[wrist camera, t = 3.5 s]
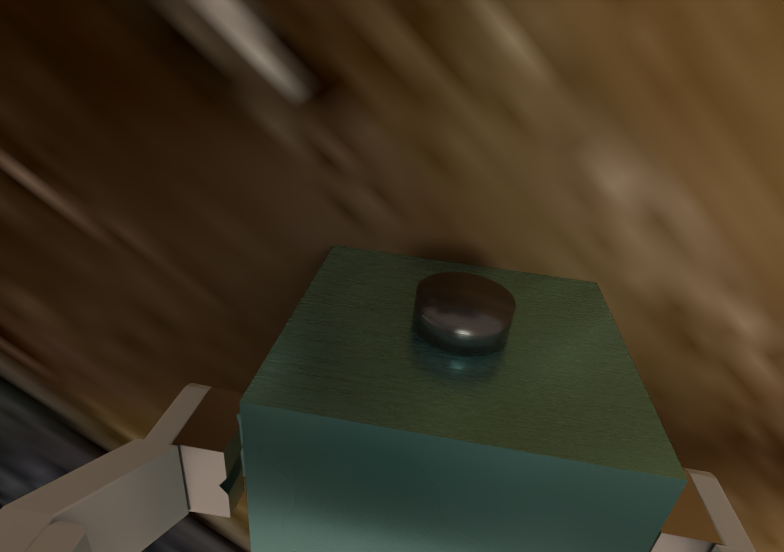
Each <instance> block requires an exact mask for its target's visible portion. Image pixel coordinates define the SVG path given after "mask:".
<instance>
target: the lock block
mask: <svg viewBox="0 0 784 552" xmlns="http://www.w3.org/2000/svg"><path fill="white" fill-rule="evenodd" d="M240 414H241V427H242V440H243V453H244V466H245V479H246V492H247V504H248V517H249V530H250V543H251V552H648V551H649V549H650V548H651V546H652V544H653V542H654V540H655V539H656V537H657V535H658V533H659V532H660V530H661V528H662V526H663V524H664V523H665V521H666V519H667V517H668V516H669V514H670V512H671V510H672V508H673V507H674V505H675V503H676V501H677V500H678V498H679V496H680V494H681V492H682V491H683V489H684V487H685V485H686V484H687V482H688V479H687V477H686V475H685V473H684V471H683V468H682V466H681V464H680V462H679V460H678V458H677V455H676V453H675V451H674V449H673V447H672V445H671V442H670V440H669V438H668V436H667V434H666V432H665V430H664V427H663V425H662V423H661V421H660V419H659V417H658V414H657V412H656V410H655V408H654V406H653V404H652V401H651V399H650V397H649V395H648V393H647V391H646V388H645V386H644V384H643V382H642V380H641V378H640V375H639V373H638V371H637V369H636V367H635V365H634V362H633V360H632V358H631V356H630V354H629V352H628V350H627V347H626V345H625V343H624V341H623V339H622V337H621V334H620V332H619V330H618V328H617V326H616V324H615V321H614V319H613V317H612V315H611V313H610V311H609V308H608V306H607V304H606V302H605V300H604V298H603V295H602V293H601V291H600V289H599V287H598V285H597V283H593V282H586V281H579V280H573V279H566V278H559V277H552V276H545V275H538V274H531V273H524V272H517V271H510V270H504V269H497V268H490V267H483V266H476V265H469V264H462V263H455V262H448V261H441V260H435V259H428V258H421V257H414V256H407V255H400V254H393V253H386V252H379V251H372V250H365V249H359V248H352V247H345V246H338V245H334V246H333V247H332V249H331V251H330V252H329V254H328V256H327V257H326V259H325V261H324V262H323V264H322V266H321V267H320V269H319V271H318V272H317V274H316V276H315V277H314V279H313V281H312V282H311V284H310V286H309V287H308V289H307V291H306V292H305V294H304V296H303V297H302V299H301V301H300V302H299V304H298V306H297V307H296V309H295V310H294V312H293V314H292V315H291V317H290V319H289V320H288V322H287V324H286V325H285V327H284V329H283V330H282V332H281V334H280V335H279V337H278V339H277V340H276V342H275V344H274V345H273V347H272V349H271V350H270V352H269V354H268V355H267V357H266V359H265V360H264V362H263V364H262V365H261V367H260V368H259V370H258V372H257V373H256V375H255V377H254V378H253V380H252V382H251V383H250V385H249V387H248V388H247V390H246V392H245V393H244V395H243V397H242V398H241V400H240Z"/></svg>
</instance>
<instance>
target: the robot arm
mask: <svg viewBox="0 0 784 552" xmlns="http://www.w3.org/2000/svg"><path fill="white" fill-rule="evenodd" d="M243 395H244V393H243V392H238V391H233V390H228V389H223V388H218V387H210V386H206V385H201V384H196V383H190V384H189V385H187V386H185V387H184V388H183V390H182V391H181V392H180V394H179V395H178V396H177V397H176V399H175V400H174V401H173V403H172V404H171V405H170V406H169V408H168V409H167V410H166V412H165V413H164V414H163V415H162V417H161V418H160V419H159V421H158V422H157V423H156V424H155V426H154V427H153V428H152V430H151V431H150V432H149V433H148V435H147V436H146V437H145V439H138V438H136V439H135V440H133V441H131V442H129V443H127V444H125V445H123V446H121V447H119V448H117V449H115V450H113V451H111V452H109V453H107V454H105V455H103V456H101V457H99V458H97V459H95V460H93V461H91V462H89V463H87V464H86V465H84V466H82V467H80V468H78V469H76V470H74V471H72V472H70V473H68V474H66V475H64V476H62V477H60V478H58V479H56V480H54V481H52V482H50V483H48V484H46V485H44V486H42V487H40V488H38V489H37V490H35V491H33V492H31V493H29V494H27V495H25V496H23V497H21V498H19V499H17V500H15V501H13V502H11V503H9V504H7V505H5V506H3V507H2V508H1V510H0V552H141V551H142V550H143V549H145V548H146V547H147V546H148V545H150V544H151V543H152V542H154V541H155V540H156V539H157V538H159V537H160V536H161V535H162V534H164V533H165V532H166V531H167V530H169V529H170V528H171V527H172V526H174V525H175V524H176V523H177V522H179V521H180V520H181V519H182V518H184V517H185V516H186V515H187V514H188V513H189V512H188V511H192V512H199V513H205V514H211V515H217V516H223V517H229V518H230V517H231V515H232V513H233V511H234V509H235V507H236V505H237V503H238V501H239V499H240V497H241V495H242V493H243V491H244V476H245V466H244V453H243V440H242V427H241V414H240V400H241V398H242V397H243ZM683 471H684V473H685V475H686V477H687V479H688V482H687V484H686V485H685V487H684V489H683V491H682V492H681V494H680V496H679V498H678V500H677V501H676V503H675V505H674V507H673V508H672V510H671V512H670V514H669V516H668V517H667V519H666V521H665V523H664V524H663V526H662V528H661V530H660V532H659V533H658V535H657V537H656V539H655V540H654V542H653V544H652V546H651V548H650V549H649V551H648V552H756V550H755V548H754V546H753V545H752V543H751V541H750V539H749V537H748V535H747V534H746V532H745V530H744V528H743V526H742V524H741V522H740V521H739V519H738V517H737V515H736V513H735V511H734V509H733V508H732V506H731V504H730V502H729V500H728V498H727V497H726V495H725V493H724V491H723V489H722V487H721V485H720V484H719V482H718V480H717V478H716V477H715V476H714V475H713V474H712V473H711V472H707V471H700V470H694V469H688V468H683Z"/></svg>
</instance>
